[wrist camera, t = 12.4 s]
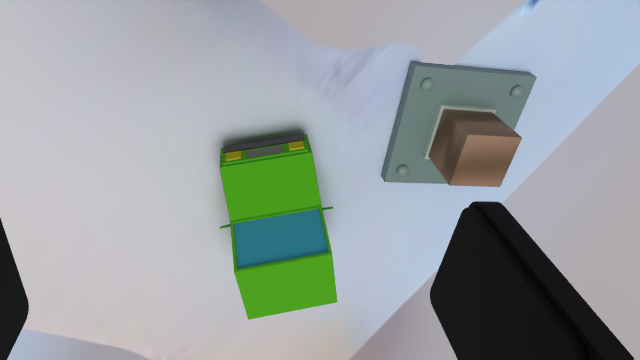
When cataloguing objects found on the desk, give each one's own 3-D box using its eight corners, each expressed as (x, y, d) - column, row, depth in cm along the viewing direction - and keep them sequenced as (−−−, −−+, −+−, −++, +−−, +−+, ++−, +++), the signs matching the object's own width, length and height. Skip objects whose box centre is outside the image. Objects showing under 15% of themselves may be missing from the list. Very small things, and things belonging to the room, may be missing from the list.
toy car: (317, 121, 39) (338, 182, 31) (328, 229, 47) (348, 300, 39) (206, 139, 39) (199, 205, 30) (236, 245, 46) (236, 321, 38)
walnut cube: (443, 108, 39) (468, 134, 35) (492, 112, 40) (521, 137, 36) (428, 156, 41) (449, 185, 37) (474, 158, 42) (499, 186, 38)
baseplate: (410, 61, 37) (417, 68, 36) (529, 72, 40) (540, 79, 39) (381, 175, 44) (386, 185, 42) (484, 178, 47) (493, 188, 45)
